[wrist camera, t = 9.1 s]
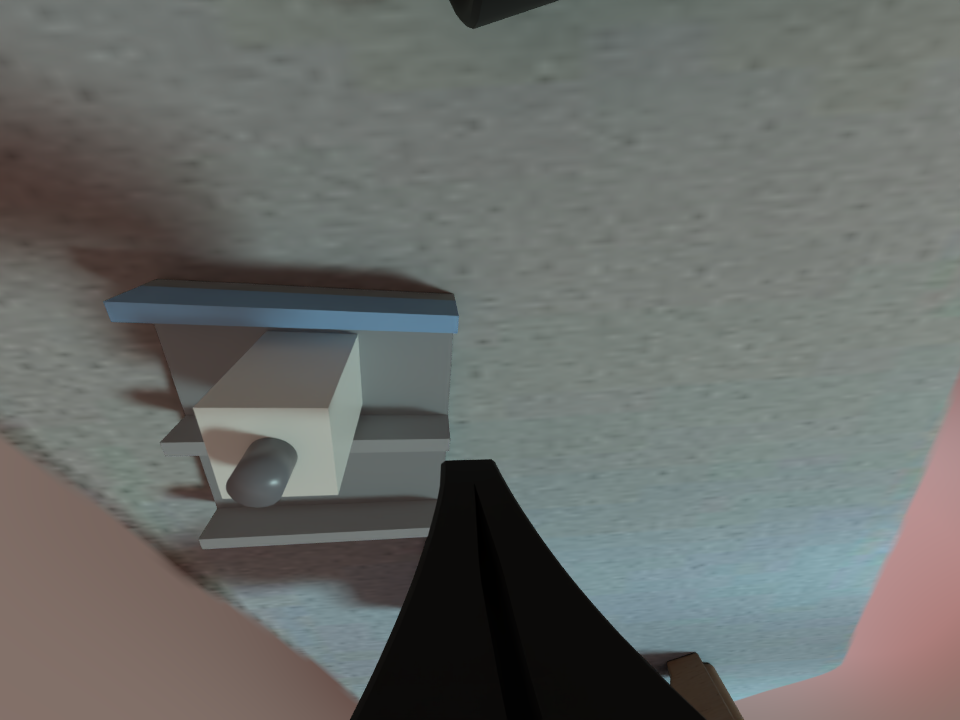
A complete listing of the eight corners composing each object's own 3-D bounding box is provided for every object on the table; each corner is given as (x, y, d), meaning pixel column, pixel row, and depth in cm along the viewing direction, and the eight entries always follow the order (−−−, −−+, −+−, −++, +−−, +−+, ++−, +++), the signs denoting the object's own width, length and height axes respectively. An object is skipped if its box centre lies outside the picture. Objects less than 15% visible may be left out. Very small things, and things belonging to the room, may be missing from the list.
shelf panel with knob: (441, 496, 24) (443, 535, 22) (228, 504, 22) (202, 549, 20) (454, 293, 18) (458, 316, 15) (156, 279, 16) (103, 301, 13)
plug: (362, 404, 19) (329, 529, 12) (280, 403, 18) (199, 535, 12) (358, 334, 17) (315, 437, 11) (266, 331, 17) (161, 439, 10)
